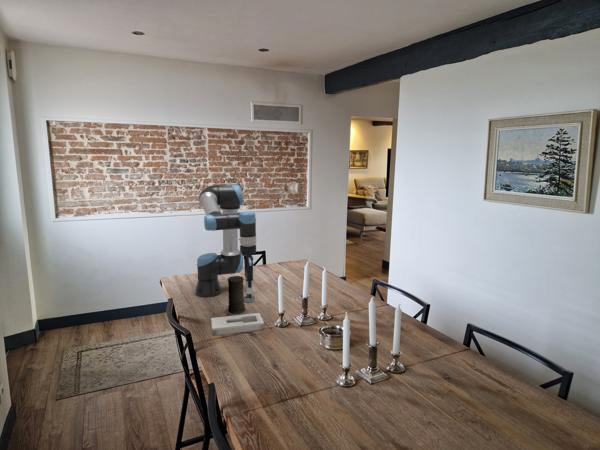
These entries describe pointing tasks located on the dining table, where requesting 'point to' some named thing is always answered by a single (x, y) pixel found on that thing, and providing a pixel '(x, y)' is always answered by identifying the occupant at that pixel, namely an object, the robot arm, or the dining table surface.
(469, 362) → the dining table surface
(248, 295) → the peg
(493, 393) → the dining table surface
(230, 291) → the container
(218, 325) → the keyhole board
